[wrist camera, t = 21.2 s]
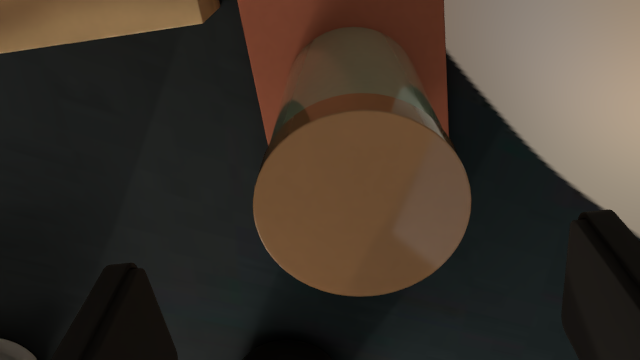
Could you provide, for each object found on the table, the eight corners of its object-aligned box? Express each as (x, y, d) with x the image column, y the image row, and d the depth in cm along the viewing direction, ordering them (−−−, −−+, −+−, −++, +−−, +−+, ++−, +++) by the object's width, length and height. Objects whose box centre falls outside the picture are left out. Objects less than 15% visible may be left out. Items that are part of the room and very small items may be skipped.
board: (210, -138, 24) (207, -139, 23) (434, -178, 23) (437, -180, 22) (288, 231, 33) (287, 236, 33) (450, 213, 32) (452, 218, 32)
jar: (217, -89, 18) (242, 310, 15) (433, -126, 17) (501, 284, 14) (288, 73, 31) (308, 300, 28) (411, 56, 31) (444, 287, 28)
